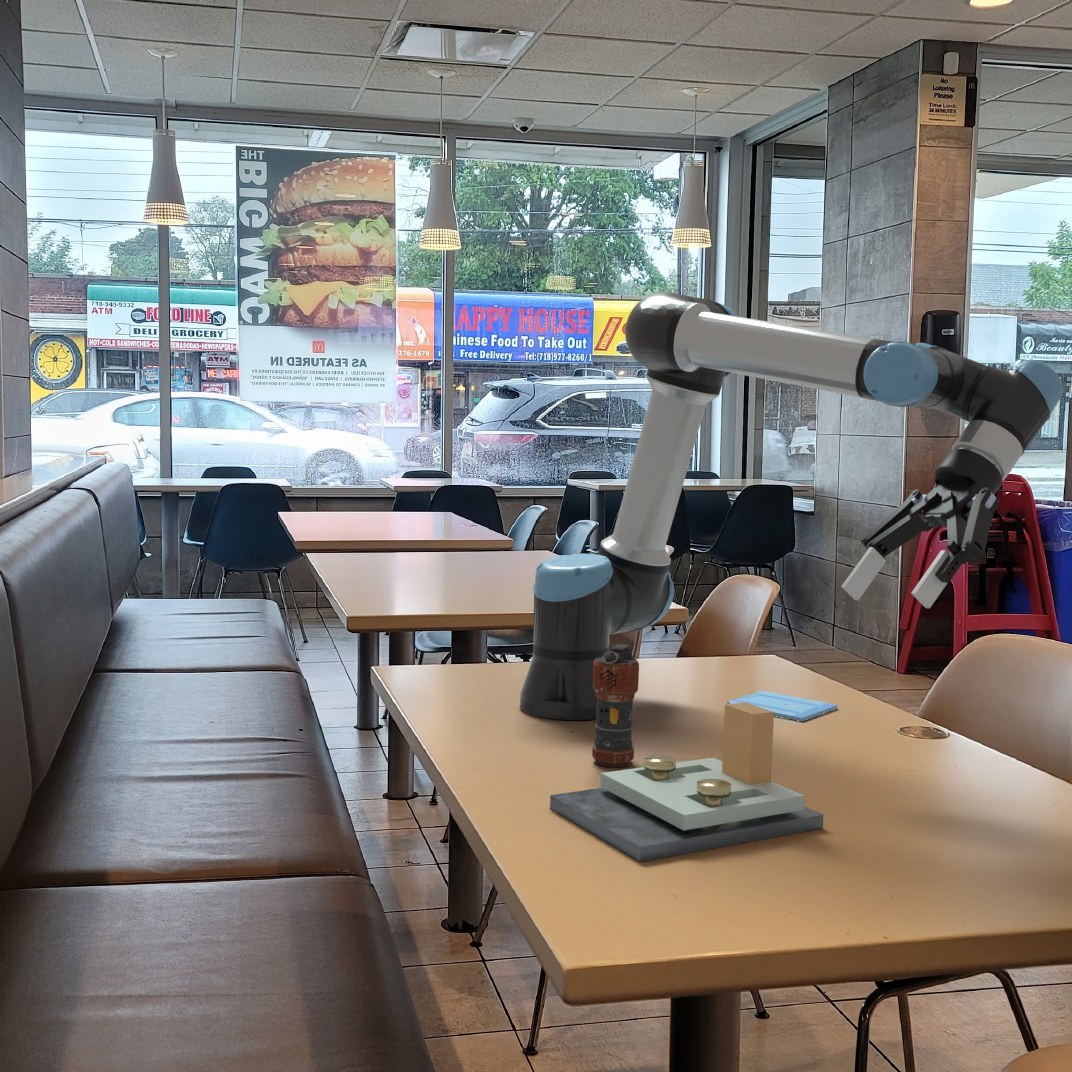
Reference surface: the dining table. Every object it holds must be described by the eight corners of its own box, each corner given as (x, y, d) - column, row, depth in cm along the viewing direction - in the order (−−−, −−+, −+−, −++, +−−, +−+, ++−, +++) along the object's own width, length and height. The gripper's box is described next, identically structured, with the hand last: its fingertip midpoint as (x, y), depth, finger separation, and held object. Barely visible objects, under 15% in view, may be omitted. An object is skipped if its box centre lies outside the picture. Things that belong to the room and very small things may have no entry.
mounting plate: (550, 808, 130) (551, 762, 129) (720, 782, 141) (722, 740, 141) (639, 861, 114) (641, 809, 114) (822, 828, 126) (825, 780, 125)
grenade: (646, 757, 152) (650, 644, 150) (625, 772, 145) (629, 654, 143) (604, 751, 154) (608, 640, 153) (582, 765, 147) (586, 649, 146)
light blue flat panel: (723, 710, 182) (724, 702, 182) (761, 697, 191) (761, 690, 191) (801, 725, 173) (802, 717, 173) (837, 712, 182) (837, 704, 182)
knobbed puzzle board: (600, 786, 132) (603, 704, 131) (712, 770, 139) (716, 692, 138) (683, 830, 118) (687, 738, 117) (803, 809, 125) (807, 723, 125)
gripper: (1072, 482, 133) (974, 625, 129) (928, 487, 157) (842, 608, 152) (1033, 439, 131) (933, 582, 127) (894, 451, 155) (805, 572, 150)
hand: (883, 597), depth 140 cm, fingers open, 13 cm apart
